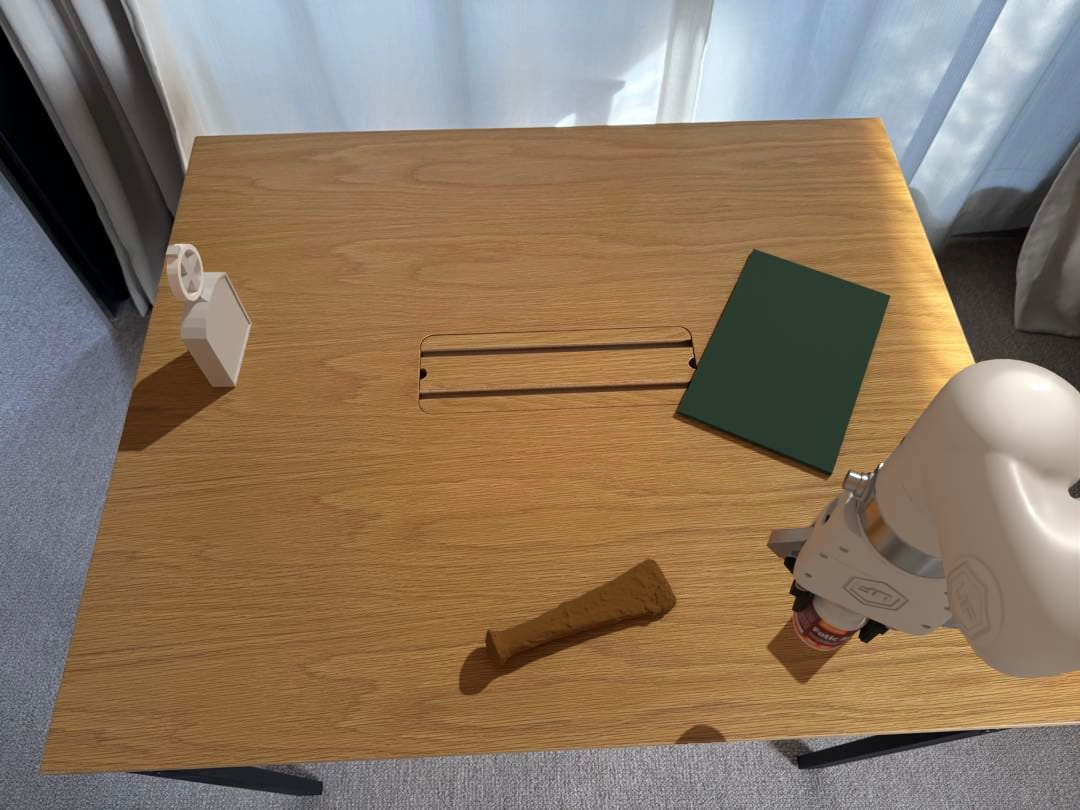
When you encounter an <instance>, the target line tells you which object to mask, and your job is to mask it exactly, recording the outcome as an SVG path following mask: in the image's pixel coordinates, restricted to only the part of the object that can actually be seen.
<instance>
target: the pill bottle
mask: <svg viewBox="0 0 1080 810" xmlns="http://www.w3.org/2000/svg"><path fill="white" fill-rule="evenodd" d="M869 620H870V618H868V617H866V616H863V615H861V614H859V613H856V612H854V611H852V610H850V609H847V608H845V607H843V606H841V605H838V604H836V603H834V602H832V601H829V600H827V599H825V598H823V597H821V596H818V595H816V594H815V596H814V598H813V600H812V601H811V602H810V603H809V604H808V605H807V606H806V607H805V609H804V610H803V611H802V612H798V613H797V612H795V611H792V625H793V628H794V631H795V632H796V635H797V637H798V638H799V639H800V640H801V641H802V642H803V643H804V644H806V645H807V646H808V647H810V648H812V649H814V650H818V651H822V652H823V651H824V652H827V651H828V652H829V651H833V650H836V649H838V648H840V647H841V646H842V645H843V644H845V643H846V642H847V641H848V640H849V639H851V638H852V637H853V636H854V635H855V634H856V633H858V632H860V629H861V628H862V627H864V626H865V625H866V624H867V623H868V621H869Z"/></svg>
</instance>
